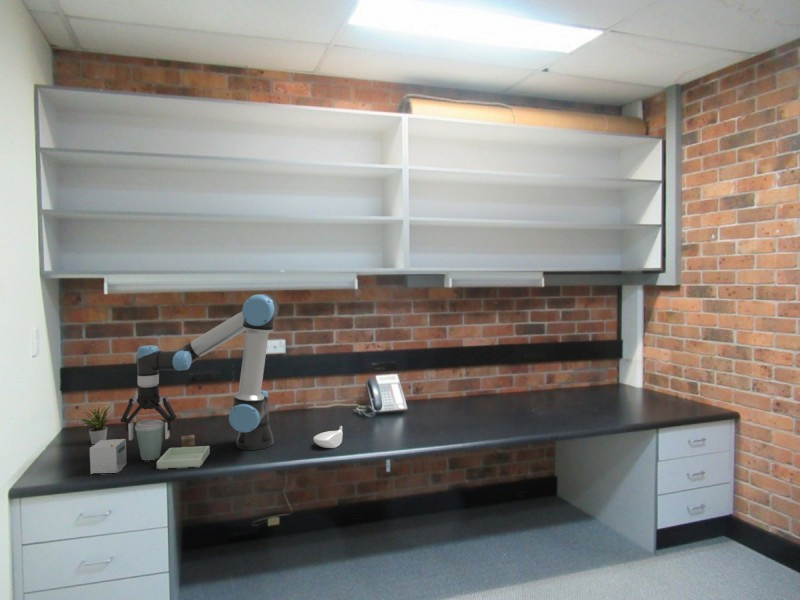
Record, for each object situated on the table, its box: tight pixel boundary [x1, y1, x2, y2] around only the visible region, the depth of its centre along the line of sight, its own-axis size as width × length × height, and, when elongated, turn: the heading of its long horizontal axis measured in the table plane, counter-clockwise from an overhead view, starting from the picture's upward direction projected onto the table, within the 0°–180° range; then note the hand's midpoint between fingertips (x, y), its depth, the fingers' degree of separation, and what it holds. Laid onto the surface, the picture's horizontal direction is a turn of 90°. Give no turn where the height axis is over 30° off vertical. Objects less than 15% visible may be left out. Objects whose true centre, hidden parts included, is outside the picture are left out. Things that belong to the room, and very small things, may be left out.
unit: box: [89, 438, 128, 475], centre depth 193 cm, size 10×9×10 cm
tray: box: [156, 445, 211, 470], centre depth 201 cm, size 15×15×3 cm
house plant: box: [76, 405, 113, 445], centre depth 225 cm, size 14×14×16 cm
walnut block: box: [181, 434, 196, 447], centre depth 215 cm, size 5×5×5 cm
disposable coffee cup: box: [134, 419, 165, 462], centre depth 204 cm, size 11×11×15 cm
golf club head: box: [313, 425, 343, 449], centre depth 218 cm, size 10×11×12 cm
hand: (149, 438), depth 204 cm, fingers open, 13 cm apart
